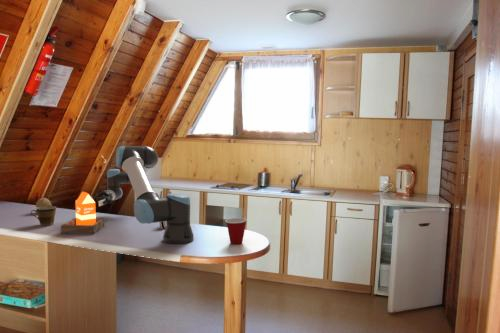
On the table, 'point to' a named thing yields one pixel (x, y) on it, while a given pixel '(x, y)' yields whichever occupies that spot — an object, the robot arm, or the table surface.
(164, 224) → the hinge
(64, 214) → the table surface
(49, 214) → the ceramic cup
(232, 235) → the plastic cup
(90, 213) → the orange juice
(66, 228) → the tray
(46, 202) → the natural sponge
